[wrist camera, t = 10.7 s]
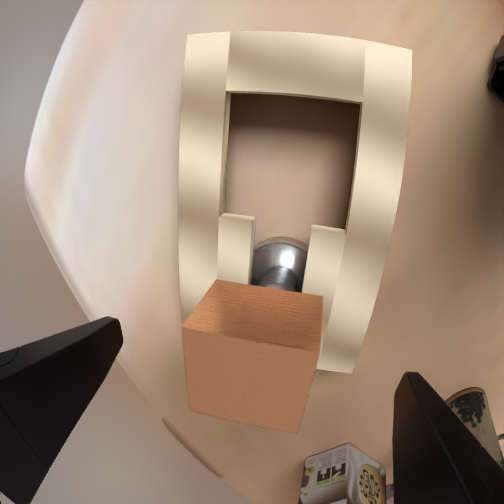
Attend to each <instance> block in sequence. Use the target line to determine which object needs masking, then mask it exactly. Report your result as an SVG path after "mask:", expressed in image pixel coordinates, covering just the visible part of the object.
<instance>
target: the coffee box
mask: <svg viewBox="0 0 504 504" xmlns="http://www.w3.org/2000/svg"><path fill="white" fill-rule="evenodd" d="M386 499H387V498H386V470H385V467H383V466H382V465H380V464H379V463H377V462H376V461H374V460H373V459H371V458H370V457H368V456H367V455H365V454H364V453H362V452H361V451H360V450H358V449H357V448H355V447H354V446H352V445H351V444H350V443H348V444H345V445H342V446H340V447H337V448H334V449H331V450H329V451H326V452H323V453H320V454H317V455H314V456H311V457H307V458H306V459H305V465H304V472H303V478H302V484H301V490H300V495H299V502H298V504H387V501H386Z"/></svg>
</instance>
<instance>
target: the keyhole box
mask: <svg viewBox="0 0 504 504" xmlns="http://www.w3.org/2000/svg"><path fill="white" fill-rule="evenodd" d="M411 78H412V50H409V49H405V48H401V47H396V46H392V45H387V44H382V43H377V42H372V41H366V40H361V39H354V38H348V37H340V36H332V35H323V34H313V33H300V32H280V31H235V32H215V33H202V34H192V35H187V43H186V53H185V64H184V75H183V88H182V103H181V120H180V142H179V177H178V241H179V276H180V299H181V317H182V325H183V324H184V323H185V321H186V320H187V318H188V317H189V316H190V314H191V313H192V312H193V310H194V309H195V307H196V306H197V305H198V303H199V302H200V301H201V299H202V298H203V296H204V295H205V294H206V292H207V291H208V290H209V288H210V287H211V285H212V284H213V283H214V281H215V280H216V279H219V280H225V281H230V282H236V283H242V284H248V285H251V277H252V264H253V250H254V237H255V224H256V217H253V216H245V215H237V214H228V213H224V207H225V185H226V166H227V148H228V132H229V116H230V101H231V93H252V94H272V95H287V96H299V97H309V98H318V99H326V100H334V101H341V102H348V103H354V104H360V114H359V125H358V136H357V146H356V155H355V163H354V171H353V179H352V187H351V194H350V201H349V207H348V214H347V220H346V226H345V229H339V228H332V227H326V226H319V225H312V227H311V234H310V242H309V249H308V255H307V262H306V269H305V275H304V282H303V288H302V293H306V294H312V295H319V296H323V311H322V331H321V348H320V355H319V359H318V363H317V367H316V369H320V370H327V371H335V372H343V373H352V372H353V369H354V366H355V364H356V361H357V358H358V355H359V352H360V349H361V346H362V343H363V340H364V337H365V334H366V331H367V328H368V324H369V321H370V318H371V315H372V311H373V308H374V304H375V301H376V297H377V294H378V290H379V286H380V283H381V279H382V275H383V271H384V267H385V263H386V259H387V254H388V250H389V245H390V241H391V236H392V232H393V227H394V222H395V217H396V211H397V206H398V200H399V194H400V188H401V182H402V175H403V168H404V161H405V153H406V145H407V135H408V125H409V113H410V99H411Z"/></svg>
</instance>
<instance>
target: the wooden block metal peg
mask: <svg viewBox="0 0 504 504" xmlns="http://www.w3.org/2000/svg"><path fill="white" fill-rule="evenodd" d="M308 249H309V247H308V246H306V245H305V244H304V243H302V242H300V241H298V240H296V239H293V238H289V237H274V238H270V239H267V240H265V241H263V242H261V243H259V244H258V245H257V246H256V247H255V248H254V250H253V264H252V277H251V285H248V284H242V283H236V282H230V281H225V280H219V279H216V280H215V281H214V283H213V284H212V285H211V287H210V288H209V290H208V291H207V292H206V294H205V295H204V296H203V298H202V299H201V301H200V302H199V303H198V305H197V306H196V307H195V309H194V310H193V312H192V313H191V314H190V316H189V317H188V318H187V320H186V321H185V323H184V324H183V325H182V336H183V348H184V360H185V371H186V381H187V390H188V399H189V408H190V410H191V411H195V412H198V413H202V414H206V415H209V416H213V417H217V418H221V419H225V420H230V421H234V422H238V423H243V424H248V425H253V426H258V427H263V428H268V429H274V430H280V431H286V432H292V433H297V432H298V428H299V425H300V422H301V419H302V416H303V412H304V409H305V406H306V402H307V399H308V396H309V392H310V389H311V385H312V381H313V378H314V374H315V370H316V367H317V363H318V359H319V355H320V348H321V331H322V311H323V296H319V295H312V294H306V293H302V288H303V282H304V275H305V269H306V262H307V255H308Z"/></svg>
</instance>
